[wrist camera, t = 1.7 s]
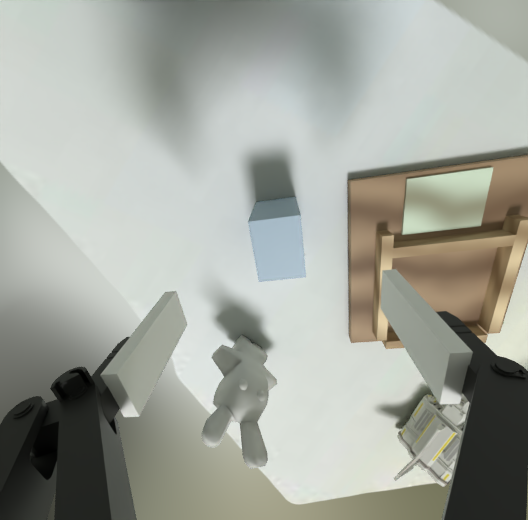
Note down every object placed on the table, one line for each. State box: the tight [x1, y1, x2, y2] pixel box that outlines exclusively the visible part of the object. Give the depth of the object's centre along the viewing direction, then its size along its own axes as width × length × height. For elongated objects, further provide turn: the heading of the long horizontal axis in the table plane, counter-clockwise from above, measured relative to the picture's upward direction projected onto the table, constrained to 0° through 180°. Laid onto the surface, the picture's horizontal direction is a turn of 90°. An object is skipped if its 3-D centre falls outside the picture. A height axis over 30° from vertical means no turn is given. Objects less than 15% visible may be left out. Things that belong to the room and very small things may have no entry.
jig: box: [348, 155, 528, 349], centre depth 29 cm, size 22×19×3 cm
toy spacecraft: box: [394, 393, 469, 487], centre depth 38 cm, size 8×15×15 cm
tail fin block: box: [248, 197, 306, 282], centre depth 26 cm, size 6×4×8 cm
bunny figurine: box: [202, 335, 277, 469], centre depth 31 cm, size 10×5×15 cm, turn 51°
